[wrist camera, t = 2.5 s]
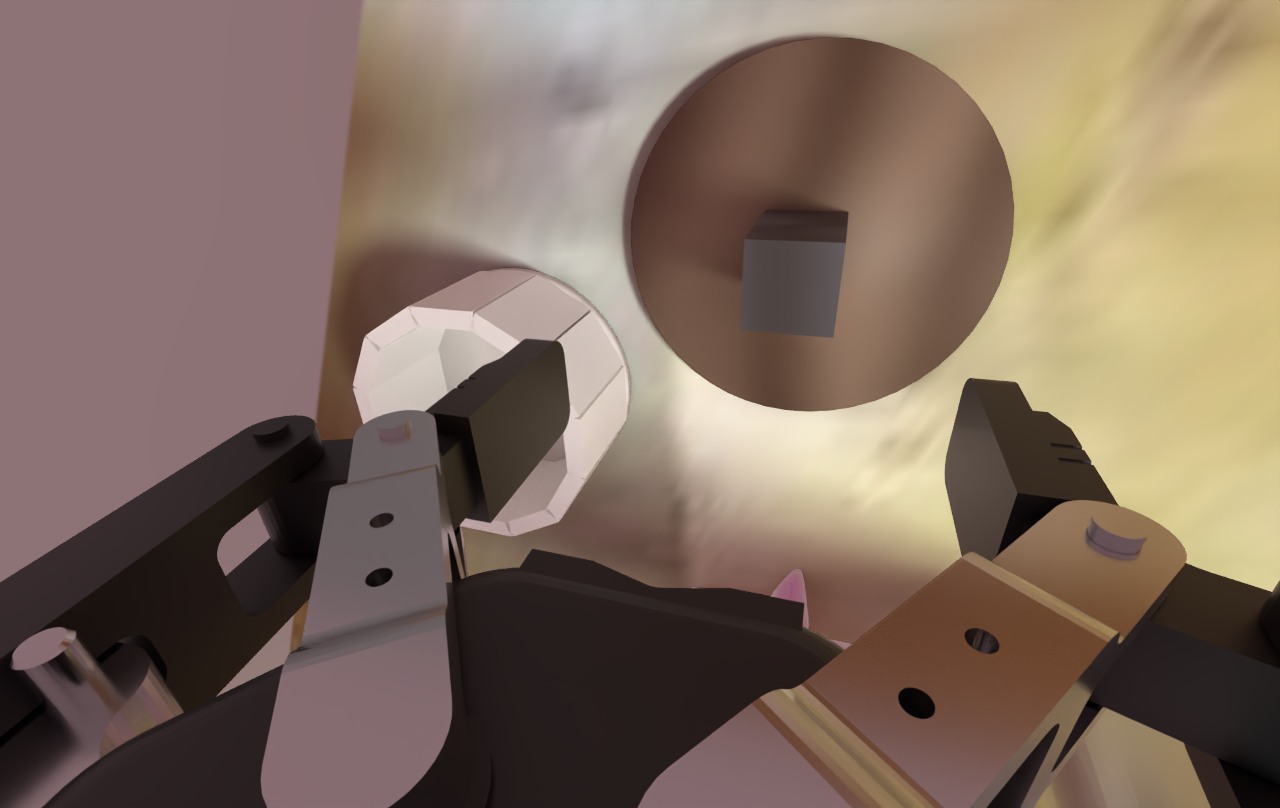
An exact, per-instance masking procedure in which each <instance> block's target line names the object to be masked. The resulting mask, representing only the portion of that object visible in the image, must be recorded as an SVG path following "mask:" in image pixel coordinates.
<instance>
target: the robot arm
mask: <svg viewBox="0 0 1280 808" xmlns="http://www.w3.org/2000/svg"><path fill="white" fill-rule="evenodd" d="M569 416H570V400H569V391H568V382H567V373H566V364H565V355H564V350H563V347H562V345H561V343H560V342H558V341H551V340H540V339H528V338H526V339H524V340H522V341H521V342H520V343H519V344H518V345H516V346H515V347H514V348H513V349H511V350H510V351H509V352H508V353H506V354H505V355H504V356H503V357H501V358H500V359H497V360H495V361H493V362H490V363H488V364H486V365H483V366H482V367H480V368H479V369H478V370H476V371H475V372H474V373H473V374H471V375H470V376H469V377H468V379H465V380H464V381H463V382H461V383H460V384H459V385H457V388H454V389H452V390H451V391H450V392H449V393H447V394H446V395H445V396H444V397H442V398H441V399H440V400H438V401H437V402H436V403H435V404H433V405H432V406H431V407H430V408H428V409H427V410H426V411H425V412H424V411H419V410H402V411H396V412H391V413H387V414H384V415H381V416H378V417H376V418H374V419H372V420H370V421H368V422H366V423H365V424H363V425H362V426H361V427H360V428H359V429H358V430H357V431H356V433H355V435H354V439H343V440H325V441H322V440H321V438H320V435H319V432H318V429H317V426H316V424H315V421H314V420H313V419H311V418H309V417H306V416H296V415H295V416H283V417H278V418H273V419H269V420H266V421H263V422H260V423H257V424H255V425H252V426H250V427H248V428H246V429H245V430H243V431H241V432H240V433H238V434H236V435H235V436H233V437H232V438H230V439H228V440H227V441H225V442H223V443H222V444H220V445H219V446H217V447H215V448H214V449H212V450H211V451H209V452H207V453H206V454H204V455H203V456H201V457H200V458H198V459H196V460H195V461H193V462H192V463H190V464H189V465H187V466H185V467H184V468H182V469H180V470H179V471H177V472H176V473H174V474H172V475H171V476H169V477H168V478H166V479H164V480H163V481H161V482H160V483H158V484H156V485H155V486H153V487H152V488H150V489H149V490H147V491H145V492H144V493H142V494H141V495H139V496H138V497H136V498H134V499H133V500H131V501H130V502H128V503H126V504H125V505H123V506H121V507H120V508H118V509H117V510H115V511H114V512H112V513H110V514H109V515H107V516H105V517H104V518H102V519H101V520H99V521H97V522H96V523H94V524H93V525H91V526H90V527H88V528H86V529H85V530H83V531H82V532H80V533H78V534H77V535H75V536H74V537H72V538H70V539H69V540H67V541H66V542H64V543H62V544H61V545H59V546H58V547H56V548H54V549H53V550H52V551H50V552H48V553H47V554H45V555H43V556H42V557H40V558H38V559H37V560H35V561H34V562H32V563H30V564H29V565H27V566H26V567H24V568H22V569H21V570H19V571H18V572H16V573H15V574H13V575H11V576H10V577H8V578H7V579H5V580H4V581H2V582H0V808H1280V581H1279V582H1278V584H1277V585H1276V587H1275V589H1274V590H1273V592H1270V591H1267V590H1264V589H1261V588H1258V587H1255V586H1251V585H1248V584H1245V583H1242V582H1239V581H1236V580H1233V579H1229V578H1226V577H1223V576H1220V575H1217V574H1214V573H1211V572H1208V571H1205V570H1202V569H1199V568H1196V567H1194V566H1192V565H1189V564H1187V563H1185V562H1186V560H1187V554H1186V551H1185V548H1184V547H1183V545H1182V544H1181V542H1180V541H1179V540H1178V539H1177V538H1176V537H1175V536H1174V535H1173V534H1172V533H1171V532H1170V531H1168V530H1167V529H1166V528H1164V527H1163V526H1161V525H1160V524H1159V523H1157V522H1155V521H1153V520H1152V519H1150V518H1148V517H1146V516H1144V515H1142V514H1139V513H1137V512H1135V511H1132V510H1129V509H1127V508H1124V507H1120V506H1119V505H1118V504H1117V502H1116V501H1115V499H1114V497H1113V496H1112V494H1111V492H1110V491H1109V489H1108V488H1107V486H1106V484H1105V483H1104V481H1103V480H1102V478H1101V476H1100V475H1099V473H1098V471H1097V470H1096V468H1095V467H1094V465H1091V460H1090V459H1089V457H1088V455H1087V454H1086V452H1085V451H1084V450H1082V446H1081V444H1080V442H1079V441H1078V439H1077V438H1076V436H1075V434H1074V433H1073V431H1072V430H1071V428H1069V427H1068V426H1066V425H1065V424H1064V423H1062V422H1061V421H1059V420H1058V419H1057V418H1055V417H1054V416H1052V415H1051V414H1049V413H1048V412H1040V411H1032V409H1031V407H1030V405H1029V404H1028V402H1027V400H1026V398H1025V396H1024V394H1023V392H1022V391H1021V389H1020V387H1019V385H1018V384H1017V383H1016V382H1009V381H997V380H986V379H975V378H969V379H968V380H967V381H966V383H965V385H964V388H963V391H962V395H961V399H960V403H959V407H958V411H957V415H956V419H955V423H954V427H953V431H952V435H951V439H950V443H949V447H948V451H947V456H946V463H945V484H946V489H947V493H948V498H949V502H950V506H951V511H952V515H953V520H954V524H955V528H956V533H957V537H958V541H959V546H960V550H961V554H962V557H961V558H960V559H959V560H957V561H956V562H955V563H954V564H952V565H951V566H950V567H949V568H947V569H946V570H945V571H944V572H942V573H941V574H940V575H939V576H937V577H936V578H935V579H933V580H932V581H931V582H930V583H928V584H927V585H926V586H925V587H923V588H922V589H921V590H920V591H918V592H917V593H916V594H915V595H913V596H912V597H911V598H910V599H908V600H907V601H906V602H905V603H903V604H902V605H901V606H899V607H898V608H897V609H896V610H894V611H893V612H892V613H891V614H889V615H888V616H887V617H886V618H884V619H883V620H882V621H881V622H879V623H878V624H877V625H876V626H874V627H873V628H872V629H871V630H869V631H868V632H867V633H865V634H864V635H863V636H862V637H860V638H859V639H858V640H857V641H855V642H854V643H853V644H852V645H850V646H849V647H848V648H847V649H843V648H842V647H840V646H839V645H837V644H836V643H834V642H833V641H831V640H829V639H827V638H825V637H824V636H822V635H820V634H818V633H816V632H814V631H812V630H810V629H808V628H806V627H803V615H804V604H805V603H802V602H797V601H791V600H786V599H781V598H776V597H771V596H766V595H761V594H756V593H751V592H746V591H741V590H736V589H731V588H655V587H651V586H648V585H646V584H644V583H641V582H639V581H637V580H635V579H632V578H630V577H628V576H626V575H623V574H621V573H619V572H617V571H614V570H612V569H610V568H608V567H605V566H603V565H601V564H599V563H596V562H594V561H591V560H586V559H581V558H576V557H571V556H566V555H561V554H556V553H551V552H546V551H541V550H536V549H532V550H531V552H530V553H529V555H528V556H527V557H526V559H525V560H524V562H523V563H522V565H521V566H520V568H507V569H497V570H492V571H487V572H482V573H479V574H475V575H472V576H469V574H468V567H467V560H466V553H465V545H464V538H463V534H462V530H461V525H460V524H461V523H462V522H463V521H464V520H465V518H466V519H471V520H476V521H482V522H487V523H491V522H492V521H493V520H494V518H495V517H496V516H497V515H498V513H499V512H500V511H501V510H502V508H503V507H504V506H505V505H506V504H507V502H508V501H509V500H510V499H511V497H512V496H513V495H514V494H515V492H516V491H517V490H518V489H519V487H520V486H521V485H522V484H523V482H524V481H525V480H526V479H527V477H528V476H529V475H530V474H531V472H532V471H533V470H534V469H535V467H536V466H537V465H538V464H539V462H540V461H541V460H542V459H543V458H544V456H545V455H546V454H547V453H548V451H549V450H550V449H551V448H552V446H553V445H554V444H555V443H556V441H557V440H558V439H559V438H560V436H561V435H562V434H563V433H564V431H565V429H566V427H567V425H568V421H569ZM256 508H257V509H258V511H259V513H260V516H261V518H262V520H263V522H264V525H265V527H266V529H267V531H268V534H269V536H270V539H268V540H267V541H266V542H265V543H264V544H263V545H262V546H260V547H259V548H258V549H257V550H256V551H255V552H253V553H252V554H251V555H250V556H249V557H248V558H246V559H245V560H244V561H243V562H242V563H241V564H239V565H238V566H237V567H236V568H235V569H234V570H232V571H231V572H230V573H229V574H228V575H227V576H225V574H224V572H223V570H222V569H221V567H220V565H219V562H218V559H217V550H218V545H219V543H220V541H221V539H222V537H223V536H224V535H225V533H226V532H227V531H228V530H230V529H231V528H232V527H233V526H235V525H236V524H237V523H238V522H240V521H241V520H242V519H243V518H245V517H246V516H247V515H249V514H250V513H251V512H252V511H254V510H255V509H256ZM309 598H310V600H309V605H308V611H307V616H306V622H305V627H304V633H303V638H302V642H301V644H300V646H299V648H298V649H297V650H294V651H292V652H291V653H290V654H289V655H288V657H287V659H286V661H285V663H284V664H283V665H281V666H279V667H277V668H275V669H273V670H270V671H268V672H266V673H264V674H262V675H260V676H258V677H256V678H254V679H252V680H250V681H248V682H246V683H244V684H242V685H239V686H237V687H235V688H233V689H231V690H229V691H228V692H225V693H223V694H221V695H219V696H217V695H218V694H219V693H220V691H221V690H222V689H223V688H224V687H225V686H226V685H227V684H228V683H229V682H230V681H231V680H232V679H233V678H234V677H235V676H236V674H237V673H239V672H240V670H241V669H242V668H243V667H244V666H245V665H246V664H247V663H248V662H249V661H250V660H251V659H252V658H253V657H254V656H255V655H256V654H257V652H259V650H261V648H262V647H263V646H264V645H265V644H266V643H267V642H268V641H269V640H270V639H271V638H272V637H273V636H274V635H275V634H276V633H277V632H278V631H279V630H280V629H281V628H282V626H283V625H284V624H285V623H286V622H287V621H288V620H289V619H290V618H291V617H292V616H293V615H294V614H295V613H296V612H297V611H298V610H299V609H300V608H301V607H302V606H303V604H304V603H305V602H306V601H307V600H308V599H309ZM216 696H217V697H216Z"/></svg>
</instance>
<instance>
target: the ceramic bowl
mask: <svg viewBox="0 0 1280 808" xmlns="http://www.w3.org/2000/svg"><path fill="white" fill-rule="evenodd" d="M526 338H528V339H540V340H551V341H558V342H560V343H561V345H562V347H563V350H564V355H565V364H566V373H567V382H568V391H569V400H570V416H569V421H568V425H567V427H566V429H565V431H564V433H563V434H562V435H561V436H560V438H559V439H558V440H557V441H556V443H555V444H554V445H553V446H552V448H551V449H550V450H549V451H548V453H547V454H546V455H545V456H544V458H543V459H542V460H541V461H540V462H539V464H538V465H537V466H536V467H535V469H534V470H533V471H532V472H531V474H530V475H529V476H528V477H527V479H526V480H525V481H524V482H523V484H522V485H521V486H520V487H519V489H518V490H517V491H516V492H515V494H514V495H513V496H512V497H511V499H510V500H509V501H508V502H507V504H506V505H505V506H504V507H503V508H502V510H501V511H500V512H499V513H498V515H497V516H496V517H495V518H494V520H493V521H492V522H491V523H487V522H482V521H476V520H471V519H466V518H465V520H464V521H463V522H462V523H461V524H460V525H461V526H462V527H467V528H472V529H477V530H482V531H486V532H491V533H496V534H501V535H506V536H510V537H511V536H512V535H513V536H517V535H520V534H523V533H526V532H530V531H533V530H536V529H539V528H542V527H545V526H548V525H551V524H554V523H557V522H559V521H560V520H561V519H562V517H563V516H564V514H565V513H566V511H567V510H568V508H569V507H570V505H571V504H572V502H573V501H574V500H575V498H576V497H577V495H578V494H579V492H580V491H581V489H582V488H583V486H584V485H585V483H586V482H587V480H588V479H589V478H590V476H591V475H592V473H593V472H594V470H595V469H596V467H597V466H598V464H599V463H600V461H601V460H602V458H603V457H604V455H605V454H606V452H607V451H608V449H609V447H610V446H611V444H612V443H613V441H614V439H615V438H616V437H617V435H618V434H619V432H620V430H621V428H622V427H623V425H624V424H625V422H626V419H627V414H628V411H629V406H630V400H631V380H630V372H629V367H628V363H627V359H626V356H625V354H624V351H623V349H622V346H621V344H620V342H619V340H618V338H617V336H616V334H615V332H614V331H613V329H612V328H611V326H610V325H609V323H608V322H607V320H606V319H605V318H604V316H603V315H602V314H601V313H600V312H599V311H598V309H597V308H596V307H595V306H594V305H593V304H592V303H591V302H590V301H588V300H587V299H586V298H585V297H584V296H583V295H582V294H580V293H579V292H577V291H576V290H575V289H573V288H572V287H571V286H569V285H567V284H565V283H563V282H562V281H560V280H558V279H556V278H554V277H551V276H549V275H546V274H544V273H540V272H537V271H533V270H529V269H521V268H500V269H494V270H489V271H478V272H476V273H474V274H472V275H470V276H468V277H466V278H464V279H462V280H460V281H458V282H456V283H454V284H452V285H450V286H448V287H446V288H444V289H442V290H440V291H438V292H436V293H434V294H432V295H430V296H428V297H426V298H424V299H422V300H420V301H418V302H416V303H414V304H412V305H410V306H408V307H406V308H405V309H403V310H402V311H400V312H399V313H397V314H396V315H395V316H393V317H392V318H390V319H389V320H387V321H386V322H384V323H383V324H381V325H380V326H378V327H377V328H375V329H374V330H372V331H371V332H370V333H368V334H367V335H366V337H364V341H363V345H362V349H361V353H360V357H359V361H358V366H357V370H356V374H355V378H354V382H353V386H354V388H353V390H354V394H355V397H356V401H357V404H358V407H359V411H360V414H361V417H362V421H363V424H365V423H366V422H368V421H370V420H372V419H374V418H376V417H378V416H381V415H384V414H387V413H391V412H396V411H402V410H419V411H424V412H425V411H426V410H427V409H428V408H430V407H431V406H432V405H433V404H435V403H436V402H437V401H438V400H440V399H441V398H442V397H444V396H445V395H446V394H447V393H449V392H450V391H451V390H452V389H454V388H457V385H459V384H460V383H461V382H463V381H464V380H465V379H468V377H469V376H470V375H471V374H473V373H474V372H475V371H476V370H478V369H479V368H480V367H482V366H483V365H486V364H488V363H490V362H493V361H495V360H497V359H500V358H501V357H503V356H504V355H505V354H506V353H508V352H509V351H510V350H511V349H513V348H514V347H515V346H516V345H518V344H519V343H520V342H521V341H522V340H524V339H526Z"/></svg>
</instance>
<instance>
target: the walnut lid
mask: <svg viewBox="0 0 1280 808" xmlns="http://www.w3.org/2000/svg"><path fill="white" fill-rule="evenodd" d="M1013 220H1014V201H1013V192H1012V183H1011V177H1010V173H1009V170H1008V166H1007V162H1006V159H1005V155H1004V152H1003V149H1002V147H1001V145H1000V143H999V141H998V139H997V136H996V134H995V132H994V130H993V128H992V126H991V124H990V123H989V121H988V120H987V118H986V117H985V115H984V114H983V112H982V111H981V110H980V108H979V107H978V105H977V104H976V102H975V101H974V100H973V99H972V98H971V97H970V96H969V95H968V94H967V93H966V92H965V91H964V90H963V89H962V88H961V87H960V86H959V85H958V83H956V82H955V81H954V80H952V79H951V78H950V77H949V76H947V75H946V74H945V73H943V72H942V71H941V70H939V69H938V68H937V67H935V66H934V65H932V64H930V63H928V62H926V61H924V60H922V59H921V58H919V57H917V56H915V55H913V54H911V53H909V52H906V51H903V50H901V49H898V48H895V47H892V46H889V45H886V44H883V43H878V42H872V41H866V40H860V39H854V38H818V39H810V40H802V41H795V42H791V43H788V44H784V45H781V46H777V47H773V48H770V49H767V50H764V51H762V52H760V53H757V54H755V55H753V56H751V57H748V58H746V59H744V60H741V61H740V62H738V63H736V64H735V65H733V66H731V67H730V68H728V69H727V70H725V71H723V72H722V73H720V74H718V75H717V76H716V77H714V78H713V79H712V80H711V81H709V82H708V83H707V84H706V85H704V86H703V87H702V88H701V89H699V90H698V91H697V92H696V93H695V94H694V95H693V96H692V97H691V98H690V99H689V100H688V101H687V102H686V103H685V104H684V105H683V106H682V107H681V108H680V110H679V111H678V112H677V113H676V114H675V116H674V117H673V119H672V120H671V121H670V123H669V124H668V125H667V127H666V128H665V129H664V131H663V132H662V134H661V136H660V137H659V139H658V141H657V143H656V144H655V146H654V148H653V150H652V151H651V153H650V156H649V158H648V160H647V163H646V165H645V168H644V170H643V173H642V175H641V178H640V182H639V186H638V189H637V193H636V197H635V202H634V209H633V215H632V227H631V247H632V257H633V266H634V271H635V275H636V279H637V284H638V287H639V290H640V293H641V296H642V299H643V301H644V304H645V307H646V309H647V311H648V313H649V315H650V317H651V319H652V321H653V323H654V325H655V326H656V328H657V329H658V331H659V332H660V334H661V335H662V337H663V338H664V340H665V341H666V342H667V344H668V345H669V346H670V347H671V348H672V349H673V351H674V352H675V353H676V354H677V355H678V357H680V358H681V359H682V360H683V361H684V362H685V363H686V364H687V365H688V366H689V367H690V368H691V369H692V370H694V371H695V372H696V373H698V374H699V375H700V376H702V377H703V378H704V379H706V380H707V381H709V382H710V383H712V384H714V385H715V386H717V387H719V388H721V389H722V390H724V391H726V392H728V393H730V394H732V395H735V396H737V397H739V398H742V399H744V400H747V401H750V402H753V403H757V404H760V405H763V406H767V407H773V408H778V409H784V410H794V411H828V410H836V409H842V408H849V407H854V406H857V405H861V404H865V403H868V402H872V401H875V400H878V399H880V398H883V397H885V396H888V395H890V394H893V393H895V392H897V391H899V390H901V389H903V388H905V387H907V386H908V385H910V384H912V383H914V382H916V381H918V380H919V379H920V378H922V377H923V376H925V375H926V374H928V373H929V372H930V371H932V370H933V369H935V368H936V367H937V366H939V365H940V364H941V363H942V362H943V361H944V360H945V359H946V358H948V357H949V356H950V355H951V354H952V353H953V352H954V351H955V350H956V349H957V348H958V347H959V346H960V345H961V344H962V343H963V341H964V340H965V339H966V338H967V337H968V336H969V335H970V333H971V332H972V331H973V330H974V328H975V327H976V325H977V324H978V322H979V321H980V319H981V318H982V316H983V315H984V313H985V312H986V310H987V309H988V307H989V305H990V303H991V301H992V299H993V297H994V295H995V293H996V291H997V289H998V287H999V285H1000V282H1001V279H1002V276H1003V273H1004V270H1005V267H1006V264H1007V261H1008V257H1009V252H1010V246H1011V241H1012V236H1013Z"/></svg>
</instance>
